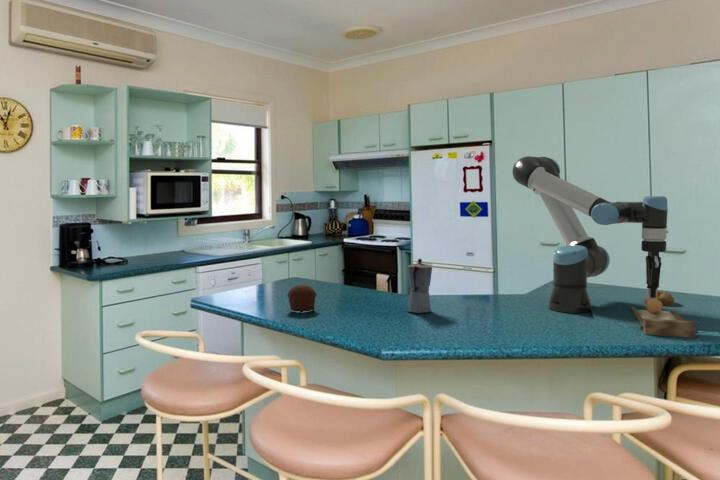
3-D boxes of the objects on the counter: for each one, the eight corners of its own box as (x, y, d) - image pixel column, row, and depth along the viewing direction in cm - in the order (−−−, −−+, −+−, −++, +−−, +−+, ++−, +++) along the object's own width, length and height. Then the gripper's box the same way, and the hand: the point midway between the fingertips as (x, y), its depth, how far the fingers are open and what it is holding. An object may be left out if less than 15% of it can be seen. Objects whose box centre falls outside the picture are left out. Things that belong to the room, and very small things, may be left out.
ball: (647, 314, 172) (647, 300, 171) (644, 311, 176) (644, 297, 176) (663, 315, 170) (664, 300, 169) (660, 311, 174) (661, 297, 174)
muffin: (323, 309, 195) (322, 284, 194) (305, 315, 185) (304, 289, 185) (300, 306, 201) (299, 282, 200) (281, 312, 192) (280, 286, 191)
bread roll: (673, 319, 183) (685, 300, 181) (646, 307, 184) (657, 288, 183) (663, 312, 192) (673, 294, 191) (637, 301, 194) (647, 283, 193)
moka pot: (434, 307, 194) (434, 256, 192) (429, 317, 179) (429, 262, 177) (410, 306, 196) (410, 256, 195) (403, 316, 182) (402, 262, 180)
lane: (645, 334, 152) (645, 320, 152) (631, 312, 179) (631, 300, 179) (695, 337, 148) (695, 323, 147) (672, 315, 174) (673, 302, 174)
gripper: (670, 242, 167) (668, 310, 169) (661, 238, 179) (659, 302, 182) (645, 241, 170) (643, 309, 172) (638, 238, 182) (636, 301, 184)
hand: (651, 305), depth 177 cm, fingers closed
